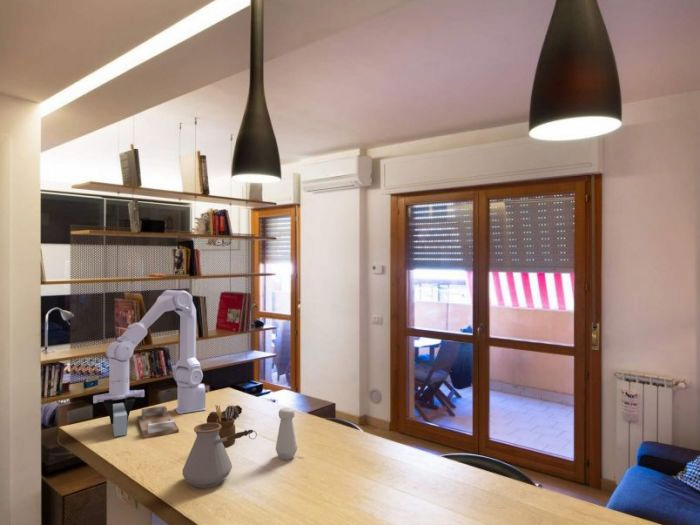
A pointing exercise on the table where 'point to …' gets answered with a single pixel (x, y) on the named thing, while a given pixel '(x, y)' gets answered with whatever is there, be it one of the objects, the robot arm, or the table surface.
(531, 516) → the table surface
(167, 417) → the frame
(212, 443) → the coffee pot
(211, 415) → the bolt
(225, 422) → the utensil holder
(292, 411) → the salt shaker
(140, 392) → the robot arm
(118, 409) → the slat
